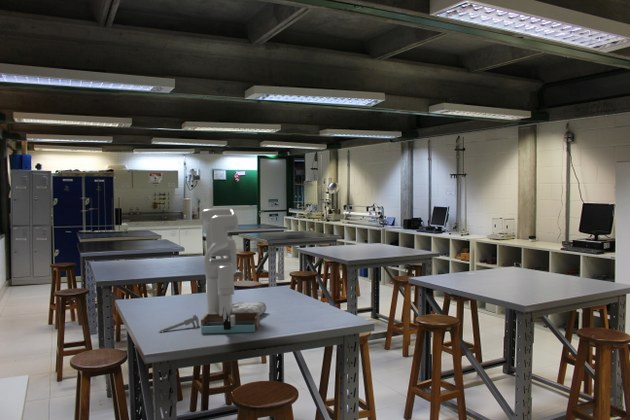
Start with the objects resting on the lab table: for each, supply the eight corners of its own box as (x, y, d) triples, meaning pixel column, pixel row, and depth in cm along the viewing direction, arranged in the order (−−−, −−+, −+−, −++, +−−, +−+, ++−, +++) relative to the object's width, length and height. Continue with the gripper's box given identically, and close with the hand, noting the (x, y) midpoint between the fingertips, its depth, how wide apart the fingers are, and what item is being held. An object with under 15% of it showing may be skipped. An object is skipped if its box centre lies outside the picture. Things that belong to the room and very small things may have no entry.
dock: (206, 325, 254) (206, 313, 254) (259, 323, 255) (259, 312, 254) (201, 331, 242) (200, 319, 242) (257, 330, 243) (256, 318, 242)
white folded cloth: (270, 311, 283) (269, 297, 283) (251, 323, 256) (251, 309, 256) (238, 310, 288) (237, 297, 288) (217, 323, 261) (216, 308, 261)
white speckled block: (226, 326, 248) (225, 314, 247) (235, 326, 248) (235, 314, 247) (224, 329, 243) (224, 317, 243) (234, 329, 243) (233, 316, 243)
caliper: (198, 325, 255) (197, 313, 255) (198, 326, 254) (198, 314, 254) (158, 332, 244) (157, 320, 244) (158, 333, 243) (158, 320, 243)
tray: (206, 326, 251) (206, 320, 251) (257, 325, 251) (257, 319, 251) (201, 333, 239) (201, 326, 239) (254, 331, 239) (254, 325, 239)
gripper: (221, 288, 244) (222, 325, 245) (215, 294, 229) (216, 334, 230) (236, 287, 244) (237, 325, 245) (231, 294, 229) (232, 333, 230)
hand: (227, 329), depth 238 cm, fingers closed
